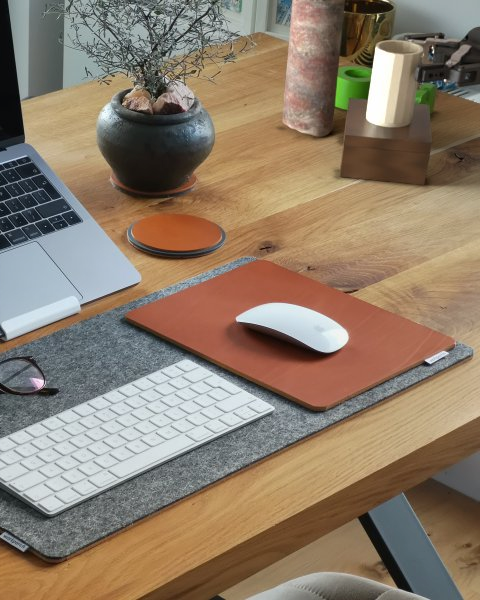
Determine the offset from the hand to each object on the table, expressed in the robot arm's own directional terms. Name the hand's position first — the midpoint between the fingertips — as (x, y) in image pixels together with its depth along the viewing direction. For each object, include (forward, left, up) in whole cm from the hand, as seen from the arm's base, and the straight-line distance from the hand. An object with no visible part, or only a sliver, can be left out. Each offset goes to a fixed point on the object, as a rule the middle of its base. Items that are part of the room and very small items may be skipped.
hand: (399, 63), depth 147 cm
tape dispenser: (+1, -20, -14) cm, 24 cm away
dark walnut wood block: (0, 0, -14) cm, 14 cm away
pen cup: (0, 0, -8) cm, 8 cm away
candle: (+11, -9, -14) cm, 20 cm away
